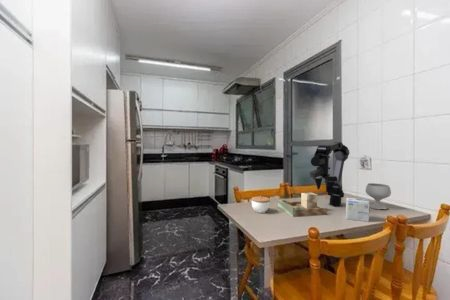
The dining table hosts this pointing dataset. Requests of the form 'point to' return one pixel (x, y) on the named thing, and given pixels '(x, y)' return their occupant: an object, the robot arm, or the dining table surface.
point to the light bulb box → (357, 209)
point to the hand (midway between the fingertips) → (322, 190)
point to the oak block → (309, 200)
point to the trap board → (299, 209)
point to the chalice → (378, 194)
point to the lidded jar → (260, 204)
